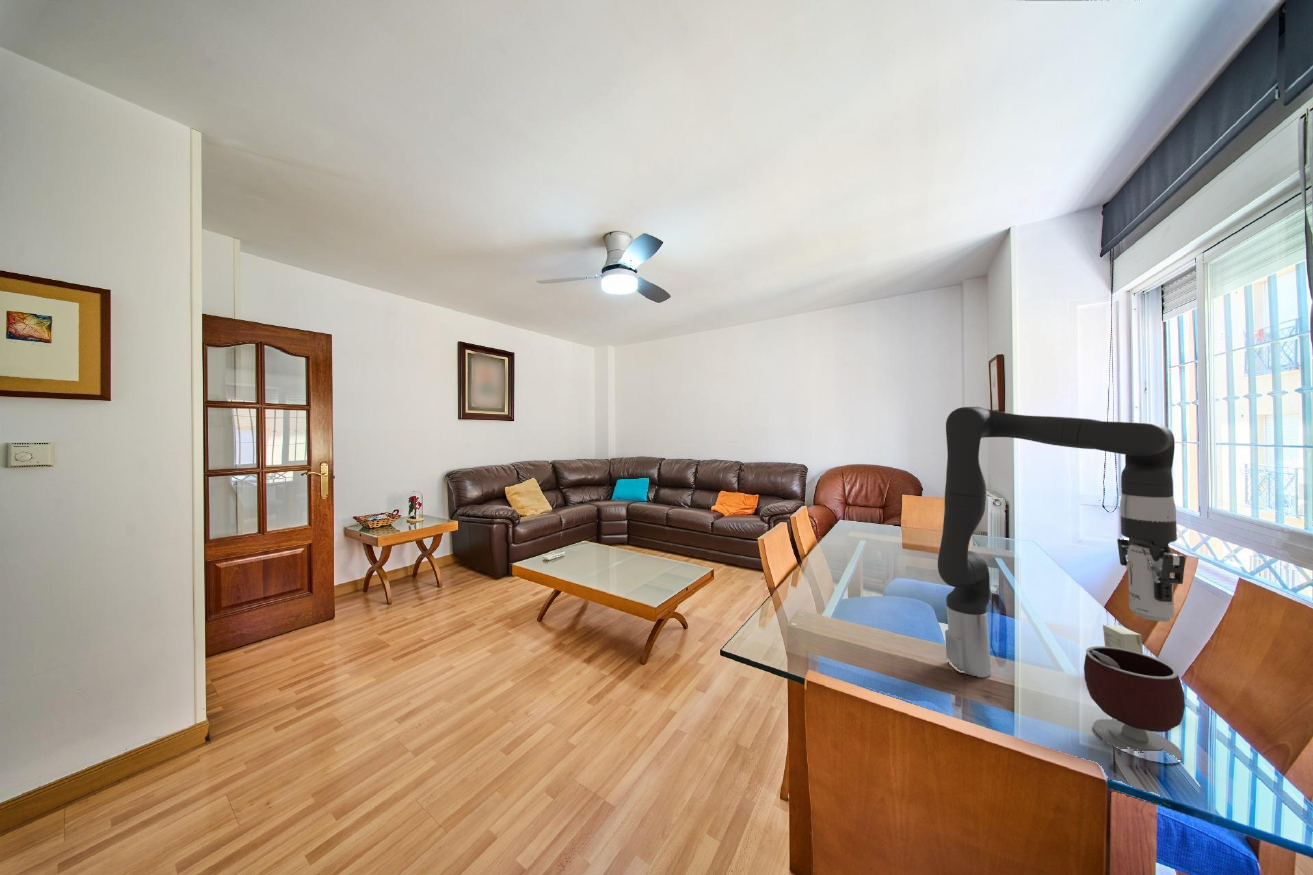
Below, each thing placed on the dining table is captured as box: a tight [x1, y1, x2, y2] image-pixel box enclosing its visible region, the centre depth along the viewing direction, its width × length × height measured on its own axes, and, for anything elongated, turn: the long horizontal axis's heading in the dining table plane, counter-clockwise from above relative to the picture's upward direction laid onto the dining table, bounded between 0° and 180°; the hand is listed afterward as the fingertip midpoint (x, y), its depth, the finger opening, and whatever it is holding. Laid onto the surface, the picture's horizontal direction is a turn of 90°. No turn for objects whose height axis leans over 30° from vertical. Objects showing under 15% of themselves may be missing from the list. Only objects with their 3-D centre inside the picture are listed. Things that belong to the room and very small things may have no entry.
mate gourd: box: [1083, 645, 1186, 761], centre depth 86 cm, size 16×14×20 cm
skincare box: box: [1102, 624, 1144, 654], centre depth 109 cm, size 6×4×12 cm
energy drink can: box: [1126, 543, 1175, 623], centre depth 85 cm, size 6×6×15 cm
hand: (1149, 594), depth 85 cm, fingers closed on energy drink can, 6 cm apart
